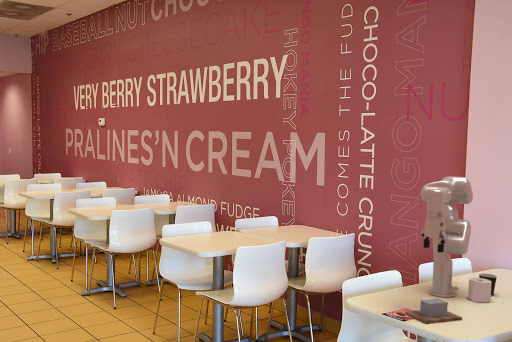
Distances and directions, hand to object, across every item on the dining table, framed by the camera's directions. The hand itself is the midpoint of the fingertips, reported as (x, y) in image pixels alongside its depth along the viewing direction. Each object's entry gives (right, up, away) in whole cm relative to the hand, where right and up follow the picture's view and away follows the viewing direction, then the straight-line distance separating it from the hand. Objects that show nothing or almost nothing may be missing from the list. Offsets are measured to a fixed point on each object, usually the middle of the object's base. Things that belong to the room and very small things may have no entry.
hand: (433, 249), depth 252 cm
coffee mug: (+38, -28, +28) cm, 55 cm away
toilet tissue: (+29, -28, +15) cm, 43 cm away
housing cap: (-5, -27, -16) cm, 32 cm away
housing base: (-5, -28, -16) cm, 33 cm away
